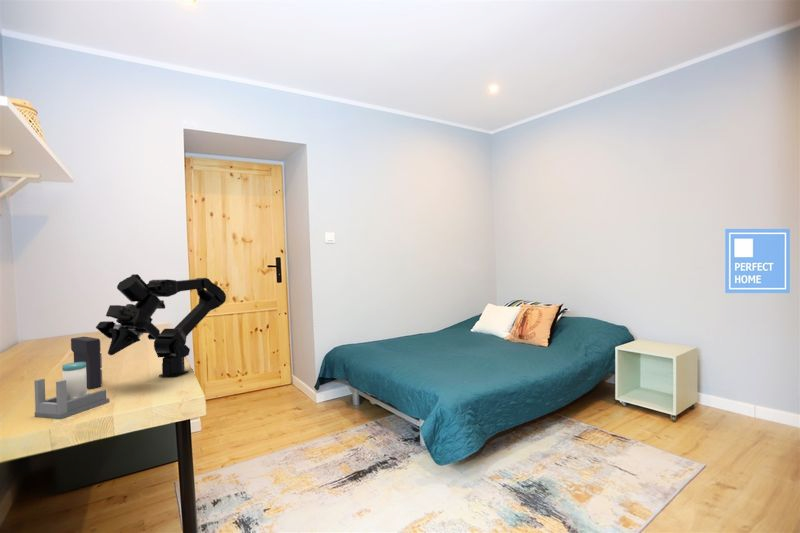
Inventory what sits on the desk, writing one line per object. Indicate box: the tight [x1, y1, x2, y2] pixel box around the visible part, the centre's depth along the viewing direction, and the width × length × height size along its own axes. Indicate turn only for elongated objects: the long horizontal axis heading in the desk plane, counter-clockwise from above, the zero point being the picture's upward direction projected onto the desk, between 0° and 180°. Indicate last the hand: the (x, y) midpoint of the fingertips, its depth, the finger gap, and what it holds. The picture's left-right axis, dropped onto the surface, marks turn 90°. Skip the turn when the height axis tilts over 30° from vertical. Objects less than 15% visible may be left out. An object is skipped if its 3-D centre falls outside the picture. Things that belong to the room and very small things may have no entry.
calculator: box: [70, 336, 103, 390], centre depth 124 cm, size 11×4×15 cm, turn 59°
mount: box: [33, 378, 110, 420], centre depth 103 cm, size 12×9×9 cm
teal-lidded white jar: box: [61, 361, 91, 401], centre depth 103 cm, size 5×5×10 cm
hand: (109, 354), depth 113 cm, fingers closed
